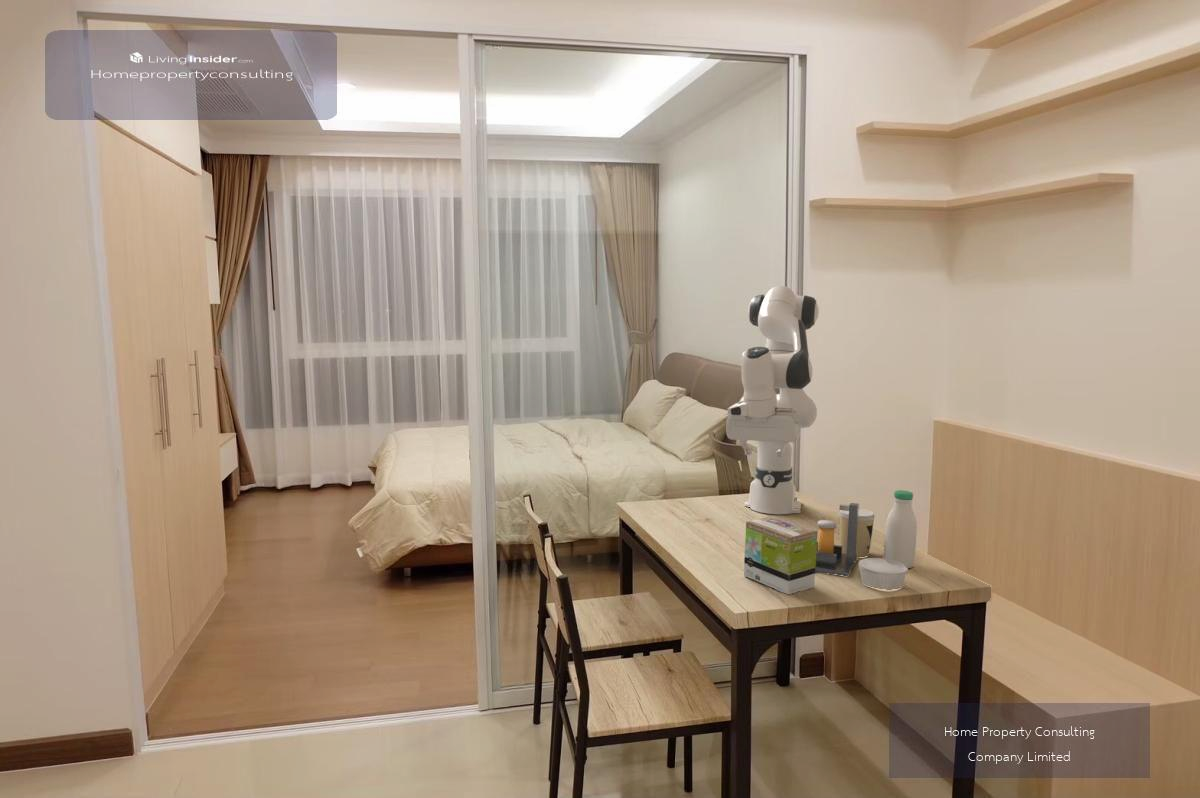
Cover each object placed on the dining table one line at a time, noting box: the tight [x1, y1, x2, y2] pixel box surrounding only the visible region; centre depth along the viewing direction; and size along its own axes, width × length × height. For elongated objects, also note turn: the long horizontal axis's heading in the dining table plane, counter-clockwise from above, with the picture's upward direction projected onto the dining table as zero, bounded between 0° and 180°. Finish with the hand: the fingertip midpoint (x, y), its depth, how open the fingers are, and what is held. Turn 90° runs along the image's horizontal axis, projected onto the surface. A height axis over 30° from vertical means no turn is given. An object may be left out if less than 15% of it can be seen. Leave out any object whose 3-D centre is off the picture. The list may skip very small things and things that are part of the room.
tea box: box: [743, 515, 819, 595], centre depth 191 cm, size 15×10×15 cm
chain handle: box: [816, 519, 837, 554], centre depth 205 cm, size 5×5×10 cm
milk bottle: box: [883, 490, 918, 569], centre depth 205 cm, size 8×8×20 cm
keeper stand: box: [815, 502, 860, 577], centre depth 204 cm, size 15×12×17 cm
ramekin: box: [858, 557, 909, 590], centre depth 191 cm, size 11×11×5 cm
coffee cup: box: [838, 507, 875, 558], centre depth 214 cm, size 9×9×12 cm
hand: (764, 455), depth 214 cm, fingers open, 8 cm apart
